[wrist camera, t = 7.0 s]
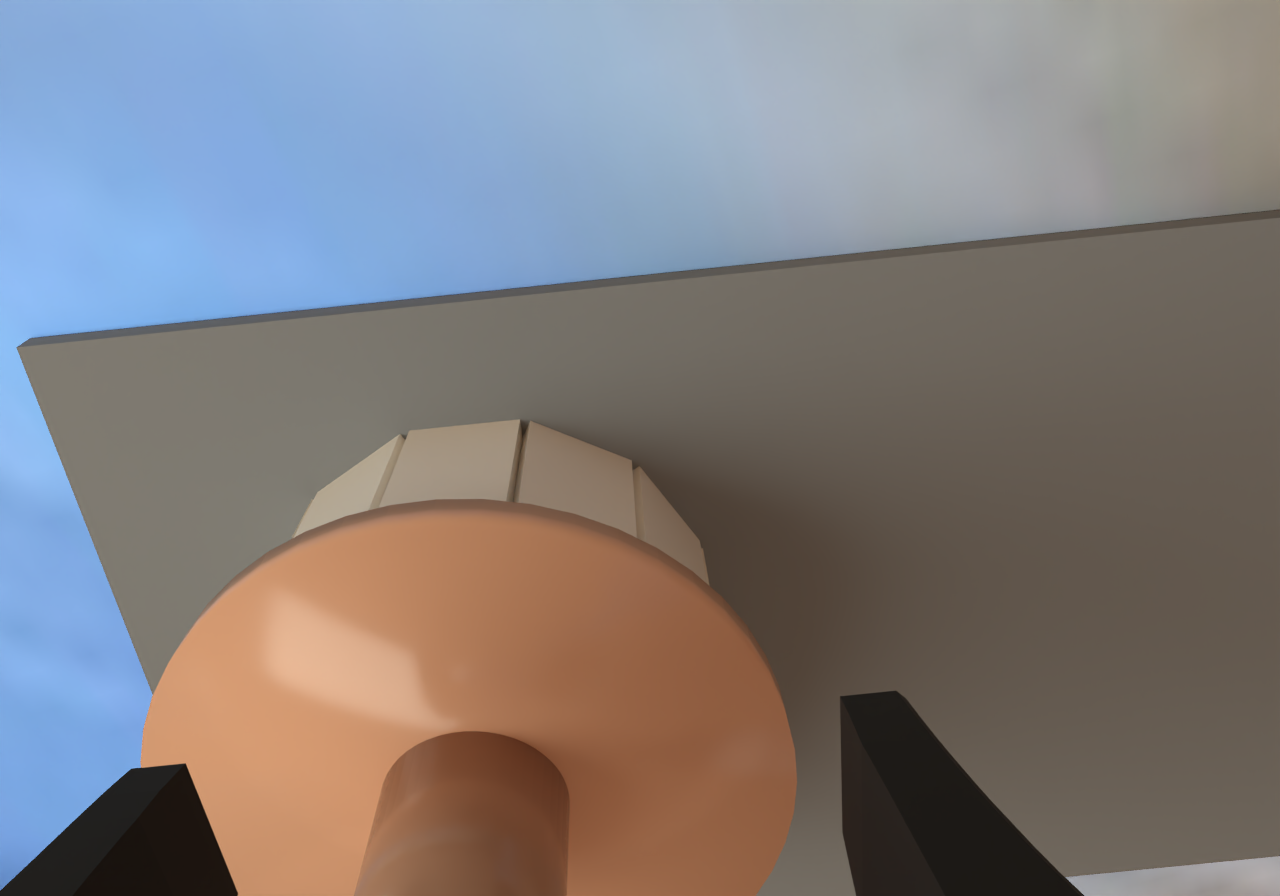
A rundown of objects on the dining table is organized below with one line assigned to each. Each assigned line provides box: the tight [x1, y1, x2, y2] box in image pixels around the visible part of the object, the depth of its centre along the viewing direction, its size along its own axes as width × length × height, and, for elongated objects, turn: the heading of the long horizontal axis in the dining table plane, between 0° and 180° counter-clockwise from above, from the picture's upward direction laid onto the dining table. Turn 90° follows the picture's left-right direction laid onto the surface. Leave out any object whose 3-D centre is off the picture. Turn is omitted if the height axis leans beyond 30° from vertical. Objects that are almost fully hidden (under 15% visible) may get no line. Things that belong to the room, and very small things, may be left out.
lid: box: [141, 499, 797, 896], centre depth 16 cm, size 11×11×4 cm
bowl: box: [291, 419, 710, 586], centre depth 20 cm, size 9×9×4 cm
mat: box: [17, 210, 1280, 896], centre depth 23 cm, size 28×17×1 cm, turn 95°
